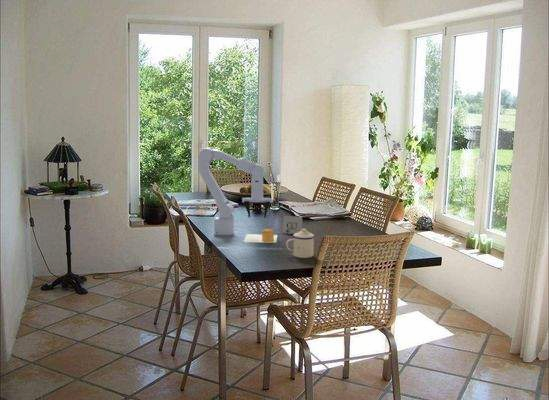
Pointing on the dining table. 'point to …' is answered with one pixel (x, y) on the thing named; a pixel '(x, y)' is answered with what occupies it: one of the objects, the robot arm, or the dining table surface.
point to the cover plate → (257, 238)
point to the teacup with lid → (302, 244)
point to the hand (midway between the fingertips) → (257, 217)
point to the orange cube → (267, 235)
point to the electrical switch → (292, 224)
